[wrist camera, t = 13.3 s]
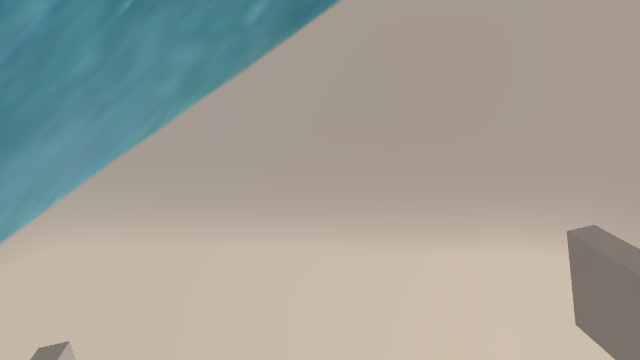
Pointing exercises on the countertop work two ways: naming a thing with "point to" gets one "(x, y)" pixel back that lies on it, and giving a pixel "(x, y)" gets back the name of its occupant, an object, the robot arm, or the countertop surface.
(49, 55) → the countertop surface
